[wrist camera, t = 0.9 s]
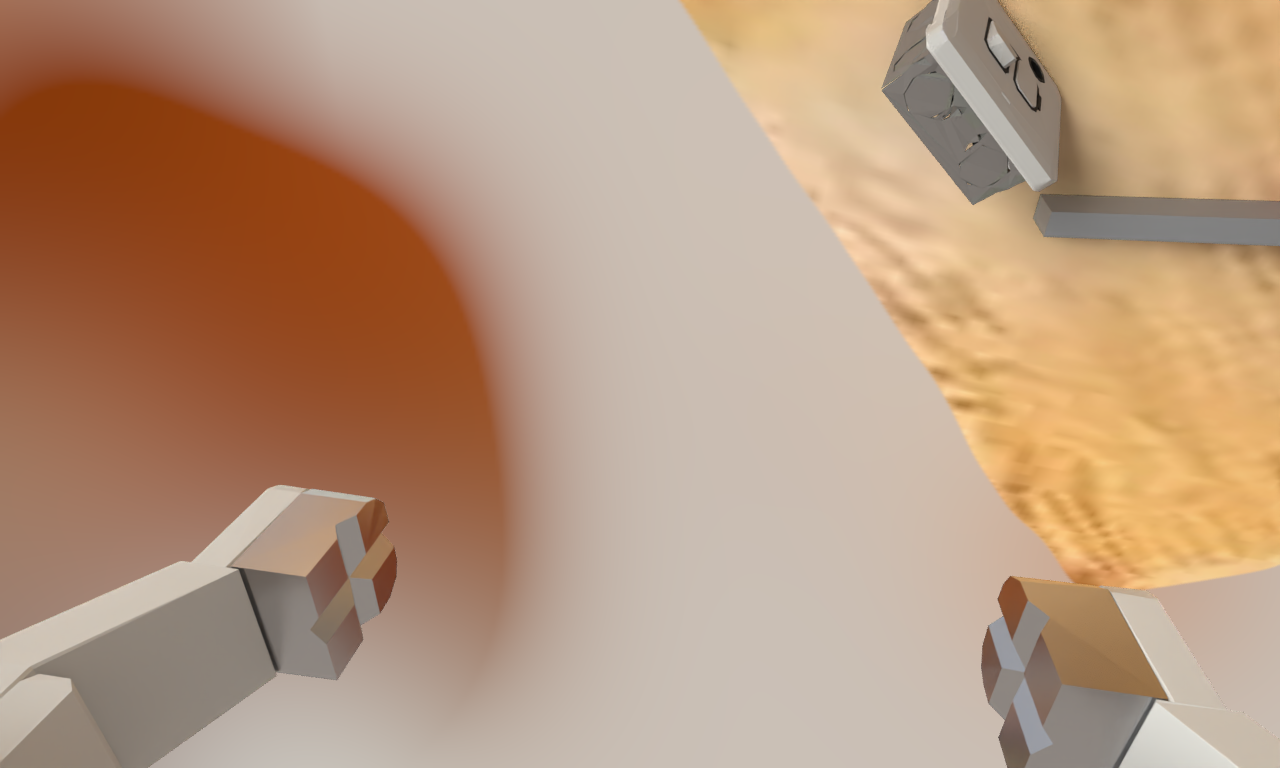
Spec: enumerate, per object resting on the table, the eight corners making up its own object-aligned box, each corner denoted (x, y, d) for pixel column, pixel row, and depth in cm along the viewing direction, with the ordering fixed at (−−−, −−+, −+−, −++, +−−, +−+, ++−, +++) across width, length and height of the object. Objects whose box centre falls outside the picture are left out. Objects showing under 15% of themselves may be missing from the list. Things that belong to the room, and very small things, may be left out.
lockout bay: (1033, 218, 42) (1043, 236, 40) (1140, -134, 32) (1162, -133, 30) (1343, 229, 39) (1371, 249, 38) (1571, -154, 29) (1625, -154, 27)
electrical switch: (1061, 92, 38) (1097, 164, 31) (970, 153, 41) (985, 230, 35) (962, -51, 35) (978, -6, 29) (873, 26, 39) (869, 84, 32)
